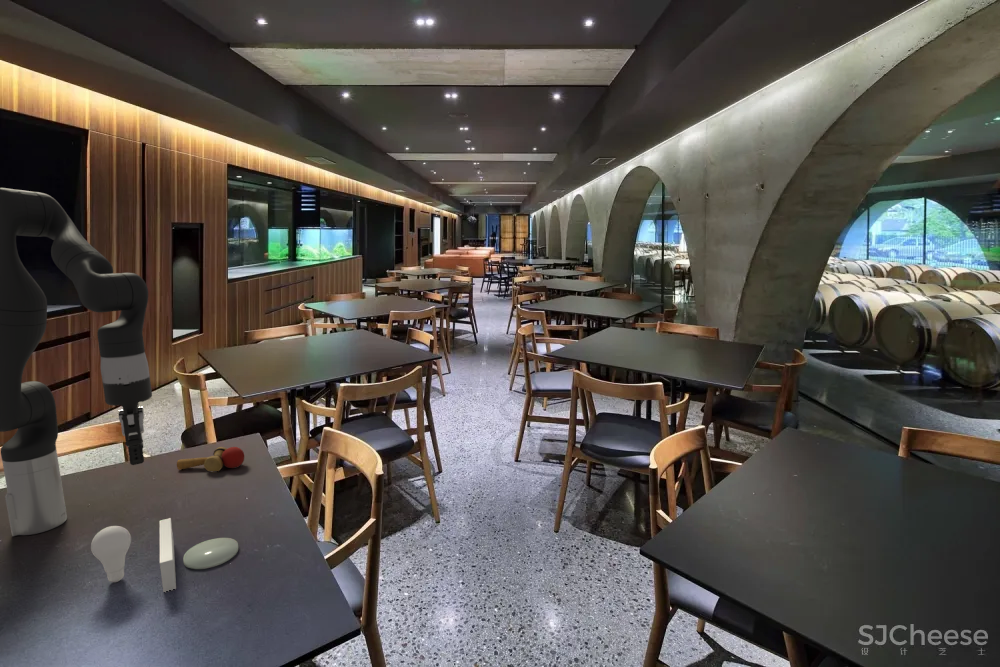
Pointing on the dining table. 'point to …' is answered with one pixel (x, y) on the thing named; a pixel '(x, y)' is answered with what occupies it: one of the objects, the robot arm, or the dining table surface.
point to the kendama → (215, 459)
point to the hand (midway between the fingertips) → (137, 456)
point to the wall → (167, 555)
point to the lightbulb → (112, 550)
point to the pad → (210, 553)
